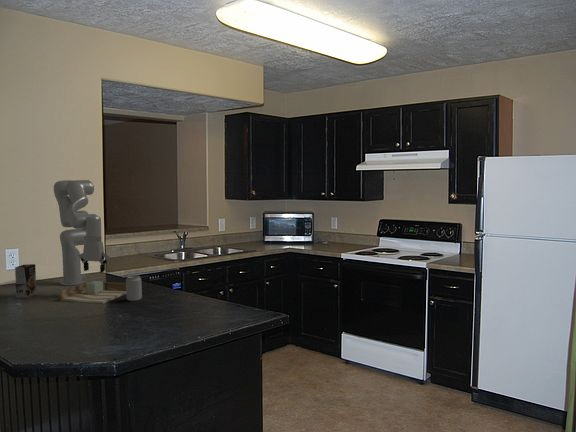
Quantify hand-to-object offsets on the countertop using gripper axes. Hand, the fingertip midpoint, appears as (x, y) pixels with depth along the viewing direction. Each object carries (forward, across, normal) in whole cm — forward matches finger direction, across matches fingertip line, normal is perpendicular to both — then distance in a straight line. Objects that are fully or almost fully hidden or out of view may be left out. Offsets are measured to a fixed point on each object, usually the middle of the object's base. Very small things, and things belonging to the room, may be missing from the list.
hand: (94, 271), depth 269 cm
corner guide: (+12, +5, -6) cm, 14 cm away
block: (+11, +1, -1) cm, 11 cm away
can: (+11, +28, -8) cm, 31 cm away
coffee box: (+13, -32, -12) cm, 37 cm away
